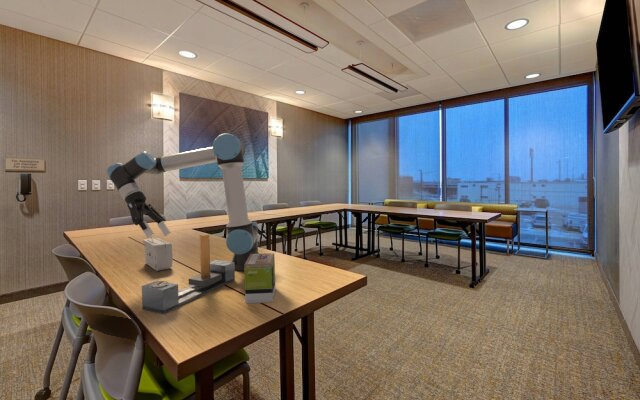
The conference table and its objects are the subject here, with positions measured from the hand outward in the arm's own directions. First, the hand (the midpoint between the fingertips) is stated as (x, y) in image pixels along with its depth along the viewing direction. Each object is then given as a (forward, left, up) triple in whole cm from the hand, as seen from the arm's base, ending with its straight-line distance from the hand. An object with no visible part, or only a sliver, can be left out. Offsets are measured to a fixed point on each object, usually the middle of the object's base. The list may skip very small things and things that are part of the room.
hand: (159, 235), depth 128 cm
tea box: (-44, +23, -20) cm, 54 cm away
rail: (-18, +17, -20) cm, 32 cm away
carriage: (-21, +11, -18) cm, 30 cm away
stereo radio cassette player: (+11, -23, -20) cm, 33 cm away
